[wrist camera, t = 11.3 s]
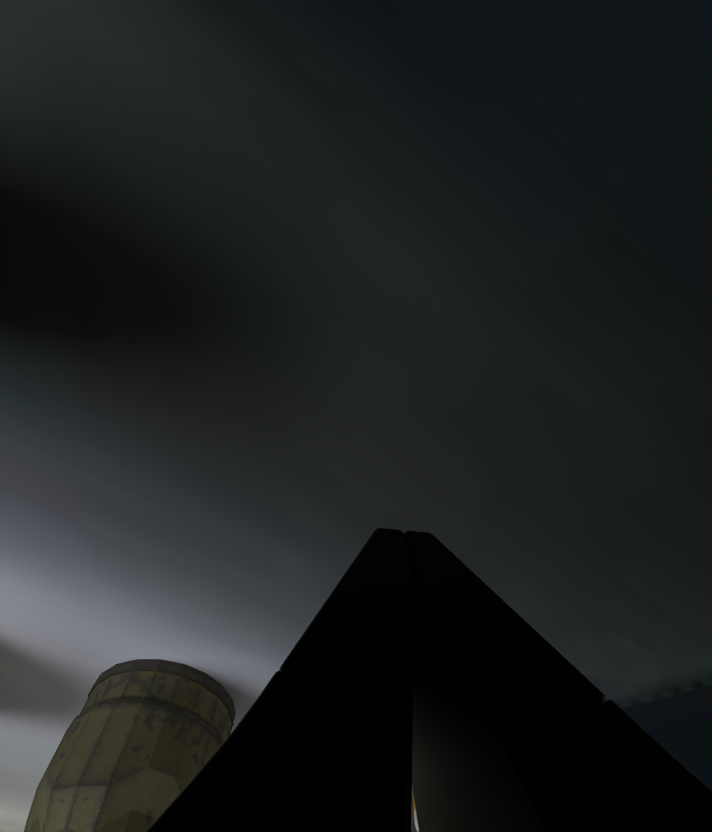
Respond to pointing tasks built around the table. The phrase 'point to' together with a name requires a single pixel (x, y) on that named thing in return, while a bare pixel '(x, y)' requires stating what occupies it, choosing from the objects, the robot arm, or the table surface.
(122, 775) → the thermos
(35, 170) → the table surface
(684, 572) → the table surface
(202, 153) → the table surface
